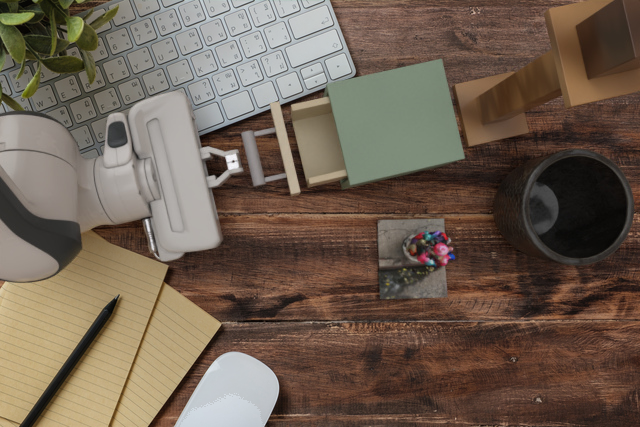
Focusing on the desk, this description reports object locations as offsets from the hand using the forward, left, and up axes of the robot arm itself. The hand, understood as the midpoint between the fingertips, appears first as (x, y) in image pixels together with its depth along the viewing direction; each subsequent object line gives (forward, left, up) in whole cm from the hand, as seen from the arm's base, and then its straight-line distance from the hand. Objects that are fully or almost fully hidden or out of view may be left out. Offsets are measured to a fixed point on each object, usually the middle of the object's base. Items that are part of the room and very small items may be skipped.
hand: (241, 160), depth 61 cm
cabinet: (0, +20, -5) cm, 20 cm away
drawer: (0, +10, -5) cm, 11 cm away
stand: (0, +36, -5) cm, 36 cm away
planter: (+15, +38, -6) cm, 41 cm away
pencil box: (0, +36, +20) cm, 41 cm away
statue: (+18, +20, -6) cm, 27 cm away
